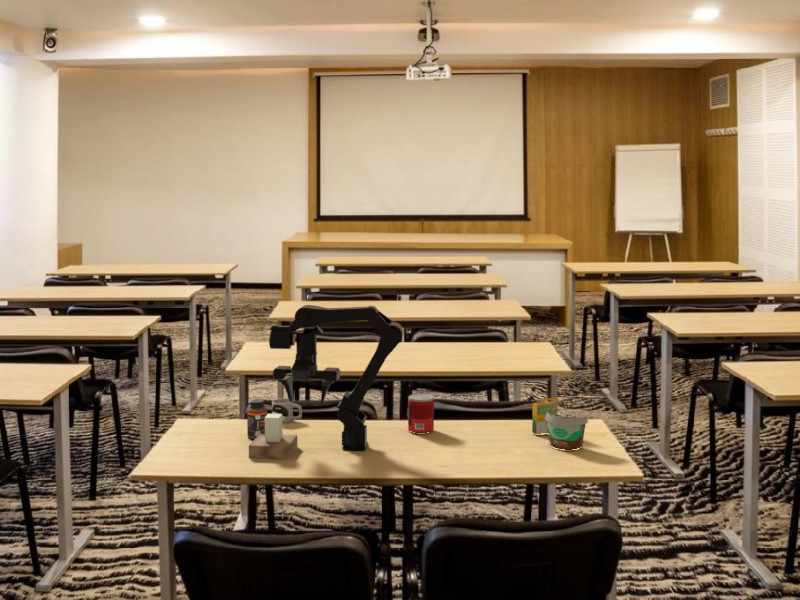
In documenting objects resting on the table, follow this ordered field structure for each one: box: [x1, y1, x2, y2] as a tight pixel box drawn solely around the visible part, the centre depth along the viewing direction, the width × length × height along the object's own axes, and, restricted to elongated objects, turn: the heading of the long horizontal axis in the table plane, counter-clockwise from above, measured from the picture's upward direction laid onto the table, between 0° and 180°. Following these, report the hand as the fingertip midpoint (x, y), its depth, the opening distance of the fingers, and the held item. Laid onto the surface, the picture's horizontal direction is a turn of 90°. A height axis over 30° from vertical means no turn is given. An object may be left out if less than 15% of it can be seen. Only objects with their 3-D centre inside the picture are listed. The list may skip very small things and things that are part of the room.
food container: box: [545, 411, 589, 450], centre depth 226 cm, size 12×6×10 cm, turn 70°
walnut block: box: [248, 434, 298, 461], centre depth 222 cm, size 11×11×4 cm
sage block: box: [265, 413, 284, 442], centre depth 221 cm, size 4×4×7 cm
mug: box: [271, 398, 303, 425], centre depth 253 cm, size 10×7×7 cm, turn 77°
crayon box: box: [531, 397, 559, 434], centre depth 240 cm, size 7×3×12 cm, turn 108°
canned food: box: [407, 393, 435, 433], centre depth 242 cm, size 8×8×11 cm
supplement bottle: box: [246, 398, 268, 440], centre depth 235 cm, size 6×6×11 cm
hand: (306, 402), depth 226 cm, fingers open, 9 cm apart
